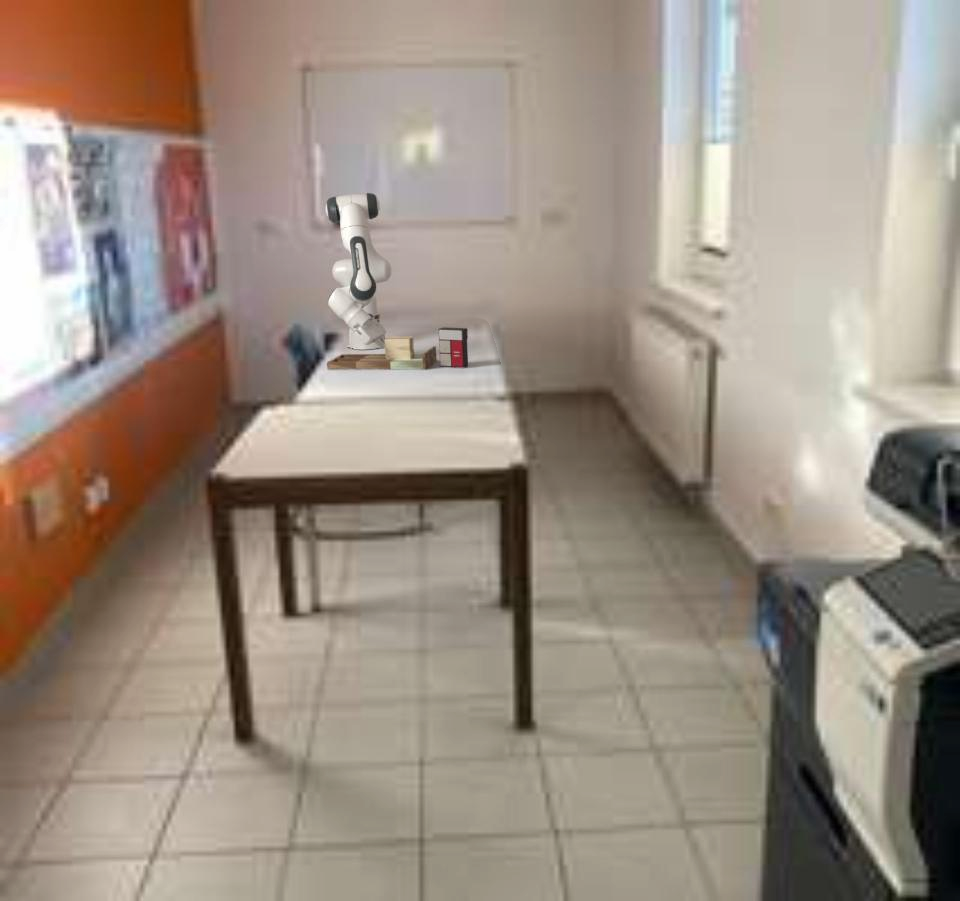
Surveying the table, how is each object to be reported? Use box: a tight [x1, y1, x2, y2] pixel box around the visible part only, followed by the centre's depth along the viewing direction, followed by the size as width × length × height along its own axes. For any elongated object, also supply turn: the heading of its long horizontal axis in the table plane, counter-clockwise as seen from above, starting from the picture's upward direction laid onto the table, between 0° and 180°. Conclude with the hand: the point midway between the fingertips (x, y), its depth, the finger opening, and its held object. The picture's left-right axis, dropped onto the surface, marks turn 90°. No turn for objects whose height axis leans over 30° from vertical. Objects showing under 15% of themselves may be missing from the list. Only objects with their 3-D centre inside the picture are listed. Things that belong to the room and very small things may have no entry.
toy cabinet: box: [438, 326, 469, 368], centre depth 385 cm, size 11×4×15 cm, turn 62°
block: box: [384, 336, 415, 359], centre depth 392 cm, size 6×10×8 cm, turn 78°
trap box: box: [326, 346, 438, 370], centre depth 395 cm, size 18×40×6 cm, turn 79°
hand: (385, 347), depth 393 cm, fingers closed, pressing on block
